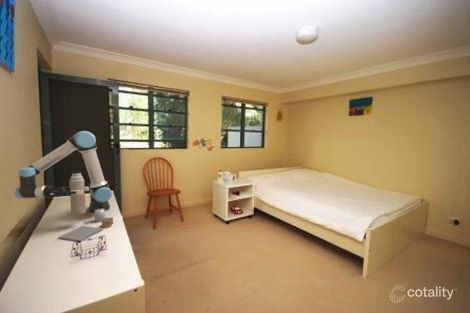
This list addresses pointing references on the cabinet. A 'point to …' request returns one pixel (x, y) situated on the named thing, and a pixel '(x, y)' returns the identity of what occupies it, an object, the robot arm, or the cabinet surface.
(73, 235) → the gray mat
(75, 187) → the thermos bottle
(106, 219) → the walnut block
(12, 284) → the cabinet surface
